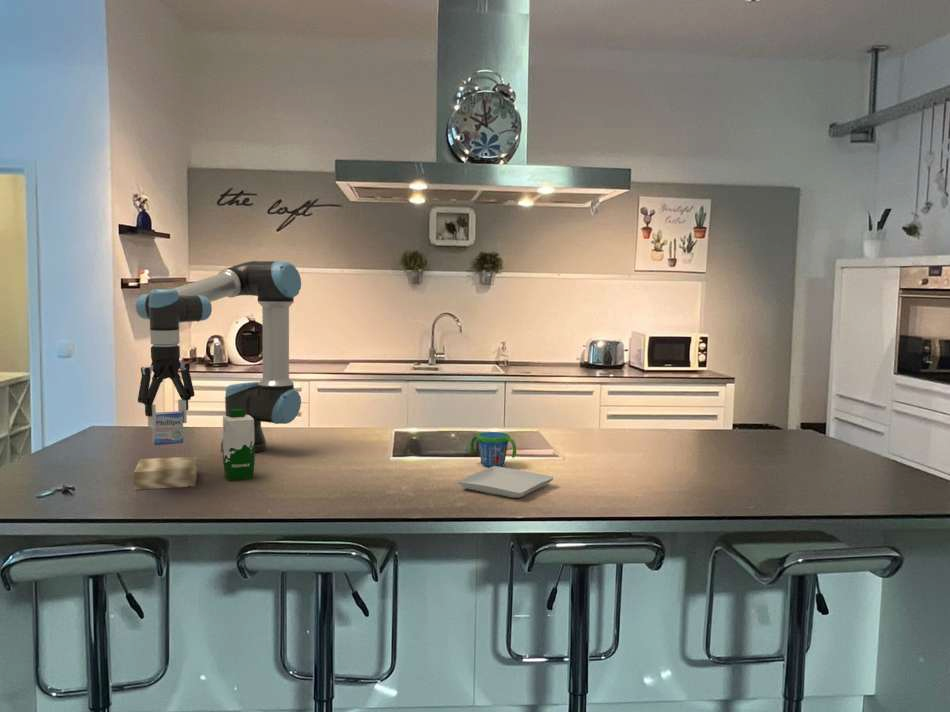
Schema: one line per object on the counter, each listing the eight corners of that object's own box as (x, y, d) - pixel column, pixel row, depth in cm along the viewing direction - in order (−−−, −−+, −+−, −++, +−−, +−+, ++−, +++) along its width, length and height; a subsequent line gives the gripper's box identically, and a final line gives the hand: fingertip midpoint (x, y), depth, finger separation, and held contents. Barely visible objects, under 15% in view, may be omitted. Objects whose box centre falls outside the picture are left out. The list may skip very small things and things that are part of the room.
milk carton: (250, 472, 239) (250, 407, 237) (257, 479, 231) (256, 412, 229) (221, 474, 235) (220, 409, 233) (226, 482, 227) (225, 414, 225)
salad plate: (520, 504, 212) (521, 491, 212) (455, 491, 223) (455, 479, 223) (555, 487, 230) (555, 475, 230) (493, 476, 241) (493, 465, 241)
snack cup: (463, 465, 253) (464, 434, 252) (480, 459, 262) (480, 429, 261) (505, 472, 245) (506, 440, 244) (521, 465, 254) (522, 434, 253)
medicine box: (153, 445, 216) (152, 414, 215) (152, 442, 220) (151, 412, 219) (183, 443, 219) (183, 413, 218) (182, 440, 223) (181, 410, 222)
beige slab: (197, 472, 237) (197, 456, 236) (195, 486, 222) (195, 468, 221) (140, 475, 232) (140, 459, 231) (134, 489, 217) (133, 472, 216)
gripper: (191, 341, 227) (193, 417, 230) (120, 347, 210) (124, 429, 213) (206, 343, 223) (208, 420, 226) (136, 349, 206) (139, 433, 208)
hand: (167, 424), depth 219 cm, fingers closed on medicine box, 9 cm apart
